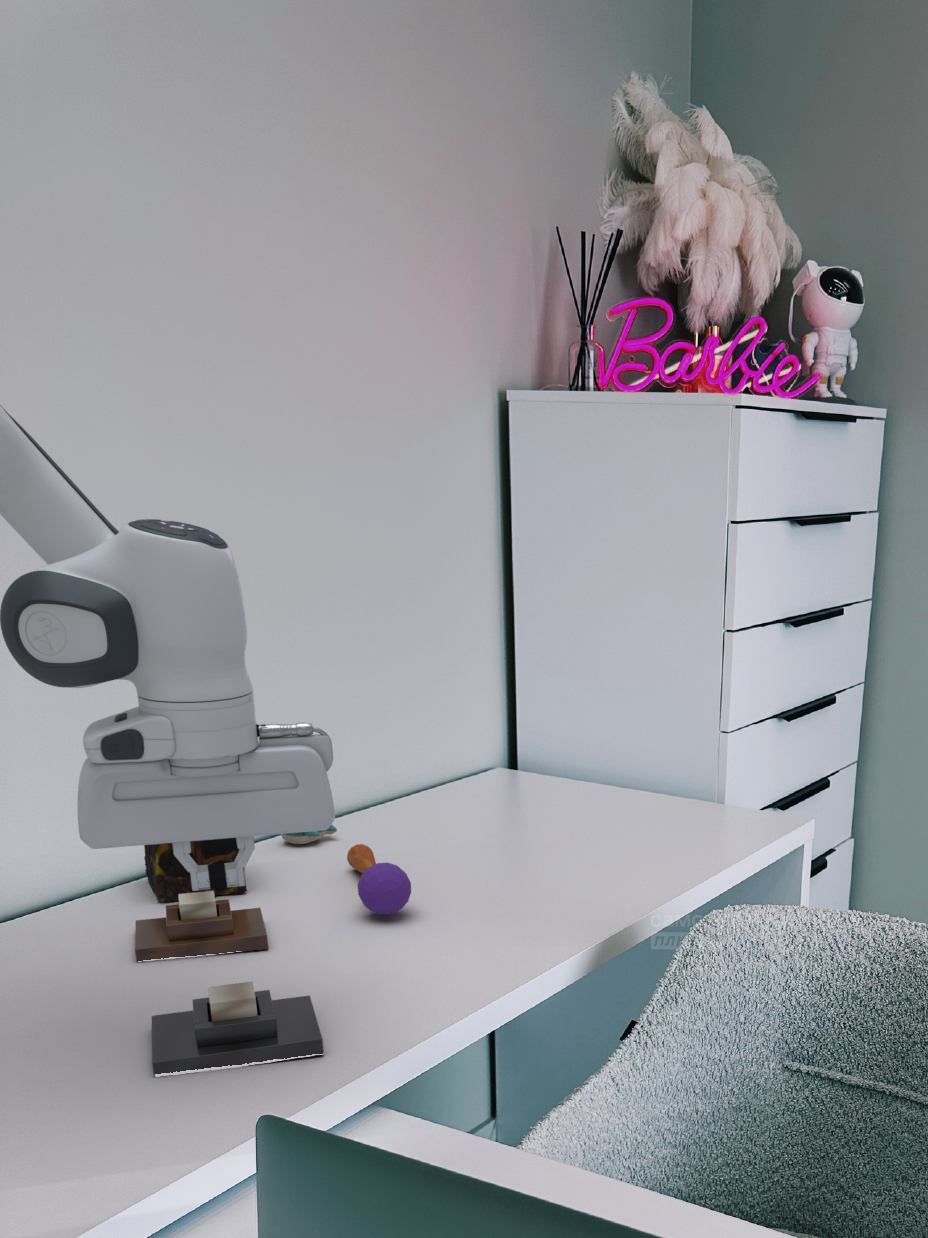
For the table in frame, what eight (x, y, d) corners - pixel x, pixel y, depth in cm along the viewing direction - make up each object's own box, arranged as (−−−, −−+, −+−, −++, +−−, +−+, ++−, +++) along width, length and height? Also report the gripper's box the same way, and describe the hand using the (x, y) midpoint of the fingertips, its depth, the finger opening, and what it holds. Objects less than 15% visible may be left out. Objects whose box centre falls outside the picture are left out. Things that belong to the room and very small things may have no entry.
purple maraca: (387, 836, 160) (419, 872, 143) (380, 881, 162) (411, 922, 144) (339, 831, 158) (366, 866, 140) (333, 877, 159) (359, 917, 141)
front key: (212, 1024, 110) (209, 1003, 109) (210, 1007, 113) (207, 986, 112) (257, 1018, 111) (255, 997, 111) (254, 1001, 115) (252, 981, 114)
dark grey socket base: (154, 1080, 107) (149, 1043, 105) (153, 1032, 115) (148, 997, 114) (324, 1055, 112) (320, 1020, 110) (311, 1011, 120) (308, 977, 119)
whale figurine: (274, 838, 171) (272, 811, 170) (325, 830, 176) (324, 804, 174) (291, 849, 167) (289, 821, 166) (343, 841, 172) (342, 814, 170)
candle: (248, 894, 151) (241, 814, 147) (158, 904, 146) (149, 822, 142) (230, 869, 159) (224, 793, 155) (145, 879, 154) (136, 800, 150)
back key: (181, 923, 133) (179, 904, 132) (180, 911, 136) (178, 894, 135) (217, 919, 134) (215, 901, 133) (215, 908, 137) (213, 890, 136)
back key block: (137, 964, 130) (132, 933, 128) (137, 934, 137) (133, 904, 136) (268, 949, 134) (265, 919, 133) (261, 921, 142) (258, 892, 141)
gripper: (325, 714, 109) (337, 864, 114) (67, 726, 102) (91, 886, 107) (335, 728, 104) (347, 885, 109) (62, 743, 97) (89, 911, 102)
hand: (218, 886), depth 108 cm, fingers closed
